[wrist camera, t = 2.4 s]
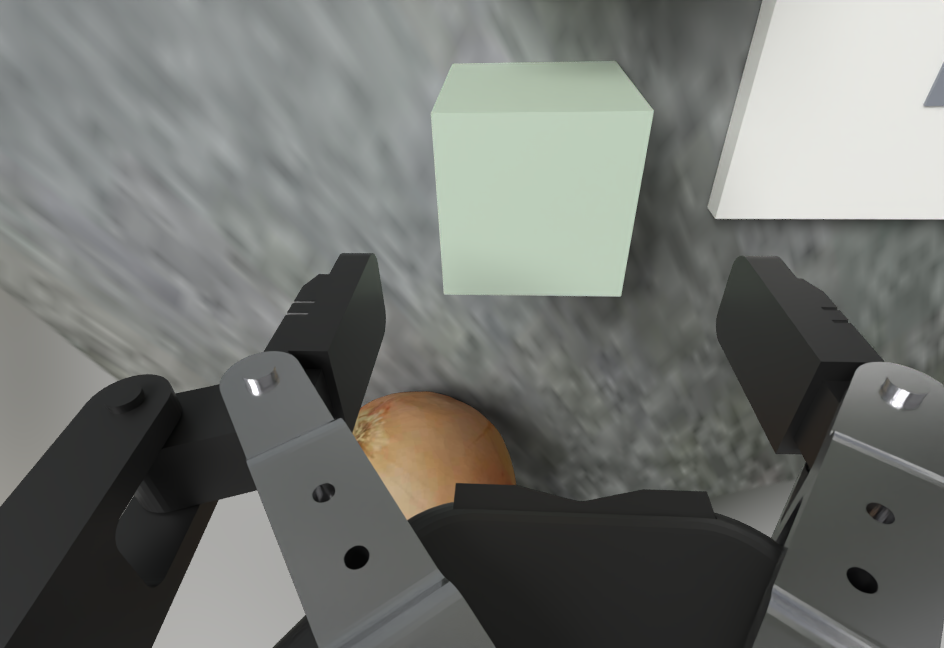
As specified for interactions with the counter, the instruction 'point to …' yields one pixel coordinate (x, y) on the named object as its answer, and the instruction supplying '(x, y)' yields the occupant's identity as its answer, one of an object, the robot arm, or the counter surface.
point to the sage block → (538, 177)
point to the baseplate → (838, 114)
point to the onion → (430, 448)
